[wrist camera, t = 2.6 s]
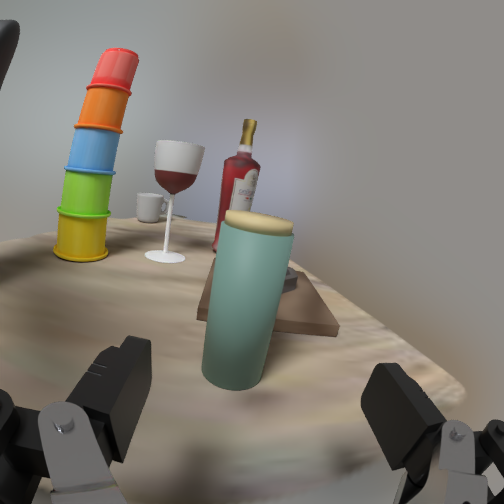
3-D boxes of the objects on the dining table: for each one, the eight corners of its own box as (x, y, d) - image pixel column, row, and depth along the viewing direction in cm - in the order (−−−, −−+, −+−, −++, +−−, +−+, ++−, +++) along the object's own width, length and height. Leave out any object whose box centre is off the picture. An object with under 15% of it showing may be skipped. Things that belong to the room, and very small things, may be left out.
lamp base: (196, 319, 29) (200, 290, 28) (213, 266, 49) (216, 246, 48) (336, 336, 30) (344, 310, 30) (301, 279, 50) (306, 261, 49)
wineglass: (134, 251, 48) (148, 141, 43) (173, 248, 54) (188, 148, 50) (154, 265, 43) (171, 139, 38) (196, 261, 50) (214, 148, 45)
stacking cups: (98, 243, 48) (127, 68, 40) (116, 260, 42) (152, 53, 34) (49, 246, 40) (80, 58, 32) (58, 265, 34) (96, 37, 26)
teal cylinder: (198, 385, 19) (220, 214, 16) (204, 350, 24) (225, 207, 21) (263, 393, 19) (303, 228, 16) (259, 357, 24) (289, 218, 21)
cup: (160, 219, 85) (164, 194, 83) (173, 224, 80) (176, 197, 78) (130, 218, 77) (133, 192, 75) (140, 224, 72) (144, 195, 70)
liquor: (227, 247, 63) (249, 125, 57) (251, 257, 59) (275, 125, 52) (202, 249, 58) (225, 116, 51) (226, 260, 53) (252, 114, 47)
